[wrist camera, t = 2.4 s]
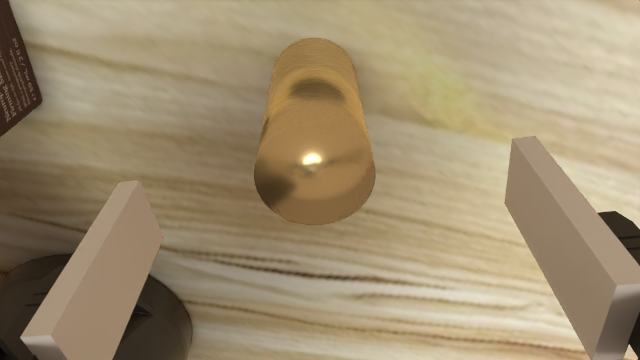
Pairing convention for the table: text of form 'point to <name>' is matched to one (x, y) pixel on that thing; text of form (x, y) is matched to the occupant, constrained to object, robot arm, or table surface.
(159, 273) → the table surface
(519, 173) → the robot arm
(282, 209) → the gold cylinder
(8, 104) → the box
